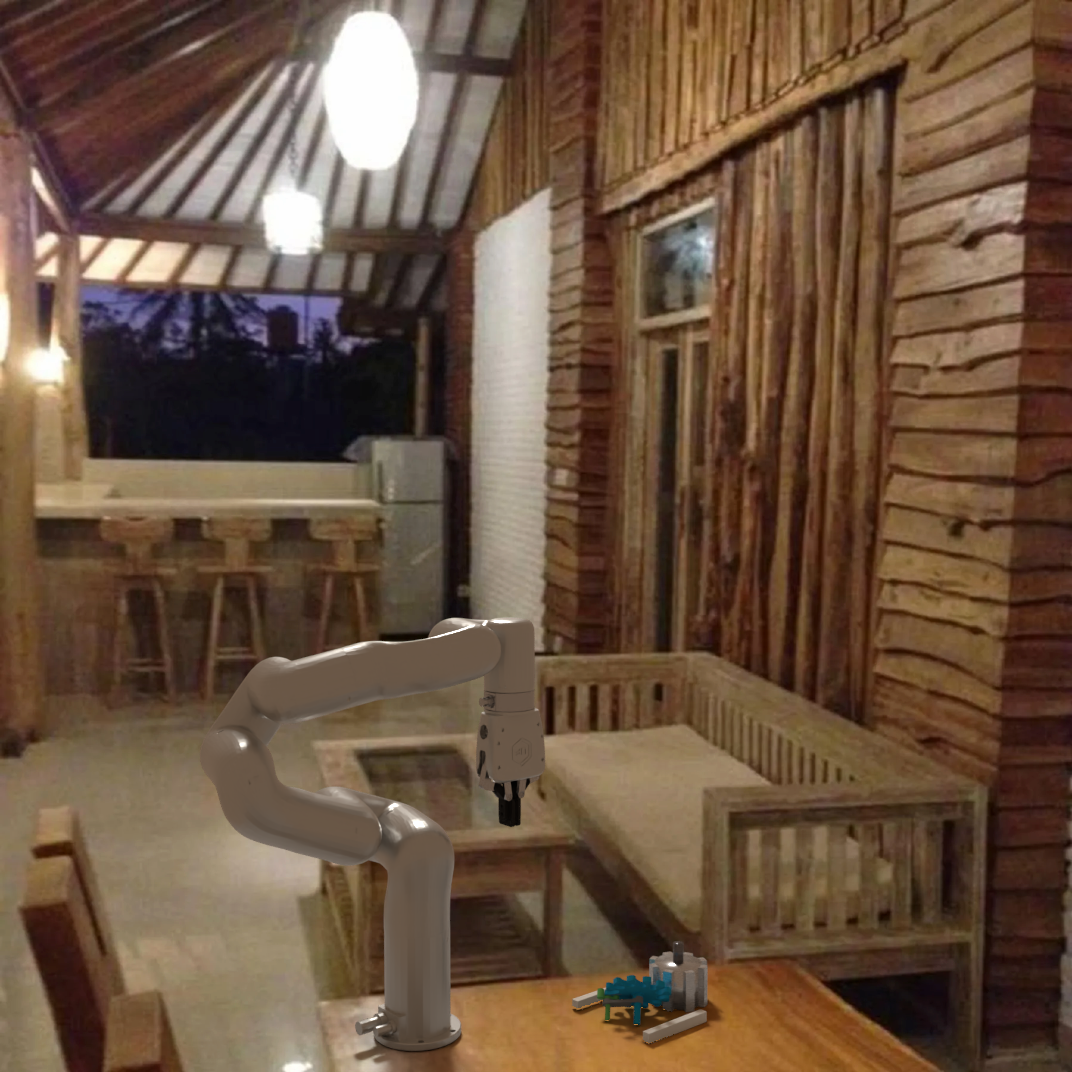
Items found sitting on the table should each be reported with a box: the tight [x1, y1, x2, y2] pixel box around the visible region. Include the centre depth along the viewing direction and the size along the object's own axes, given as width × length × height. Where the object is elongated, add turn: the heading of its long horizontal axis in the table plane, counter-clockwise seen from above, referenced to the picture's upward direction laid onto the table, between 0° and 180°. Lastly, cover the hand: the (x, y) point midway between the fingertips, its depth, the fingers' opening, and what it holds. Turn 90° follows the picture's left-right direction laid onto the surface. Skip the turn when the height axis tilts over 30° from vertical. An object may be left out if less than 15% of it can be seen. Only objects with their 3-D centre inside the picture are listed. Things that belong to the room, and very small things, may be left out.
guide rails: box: [571, 979, 708, 1044], centre depth 198 cm, size 12×16×2 cm
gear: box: [596, 974, 671, 1026], centre depth 196 cm, size 11×6×10 cm
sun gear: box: [648, 940, 709, 1013], centre depth 204 cm, size 9×9×9 cm
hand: (509, 824), depth 196 cm, fingers closed
